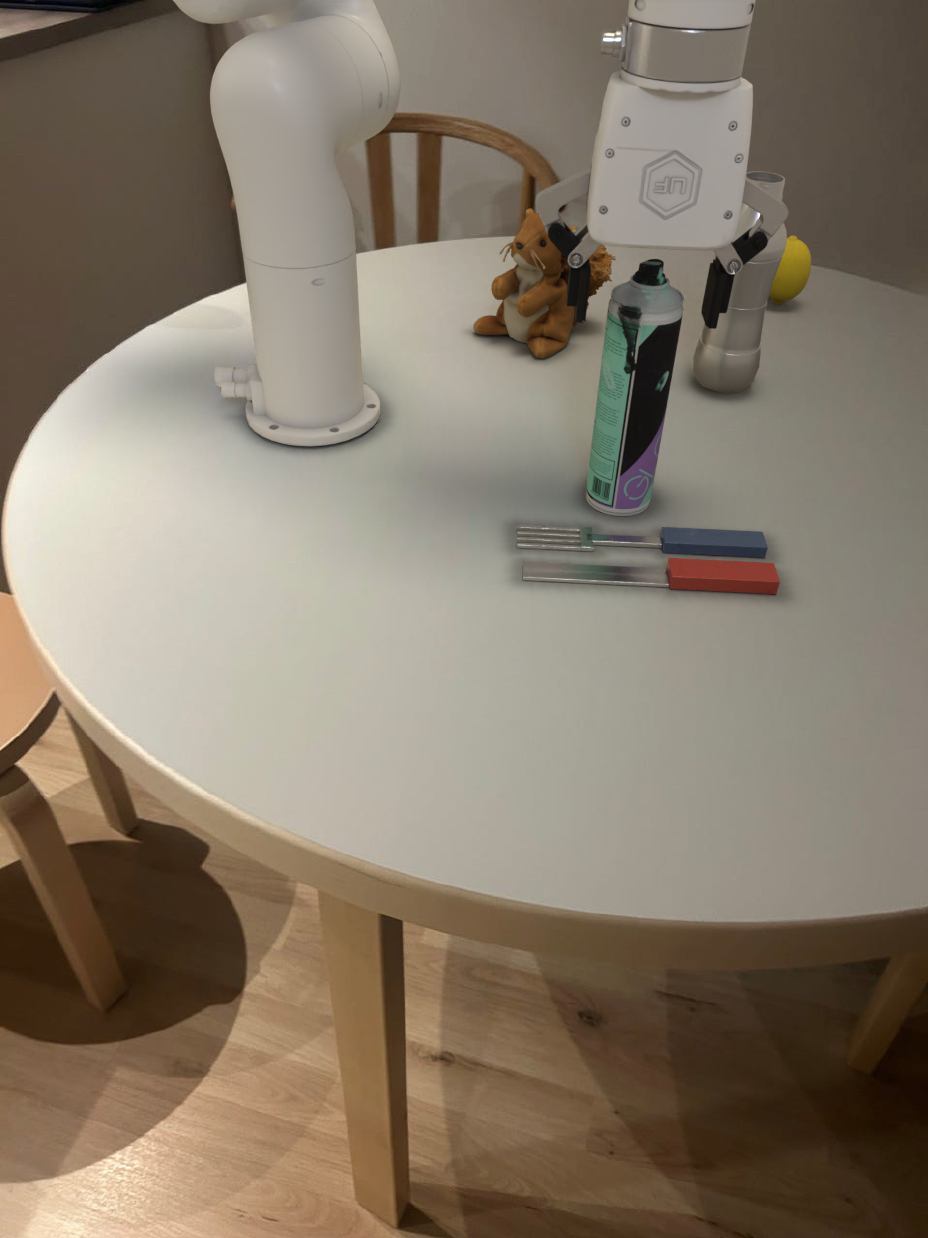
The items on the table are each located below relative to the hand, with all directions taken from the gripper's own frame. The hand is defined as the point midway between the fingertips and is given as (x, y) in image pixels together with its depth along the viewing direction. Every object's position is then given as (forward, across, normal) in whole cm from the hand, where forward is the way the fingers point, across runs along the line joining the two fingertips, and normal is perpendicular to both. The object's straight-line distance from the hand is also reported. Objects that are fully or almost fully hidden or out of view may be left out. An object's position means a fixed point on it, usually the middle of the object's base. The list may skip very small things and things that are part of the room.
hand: (643, 318), depth 71 cm
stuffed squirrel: (+16, -6, +33) cm, 37 cm away
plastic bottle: (+16, +12, +22) cm, 30 cm away
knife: (+16, +2, -11) cm, 19 cm away
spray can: (+16, 0, 0) cm, 16 cm away
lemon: (+16, +22, +44) cm, 52 cm away
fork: (+16, +2, -6) cm, 17 cm away
